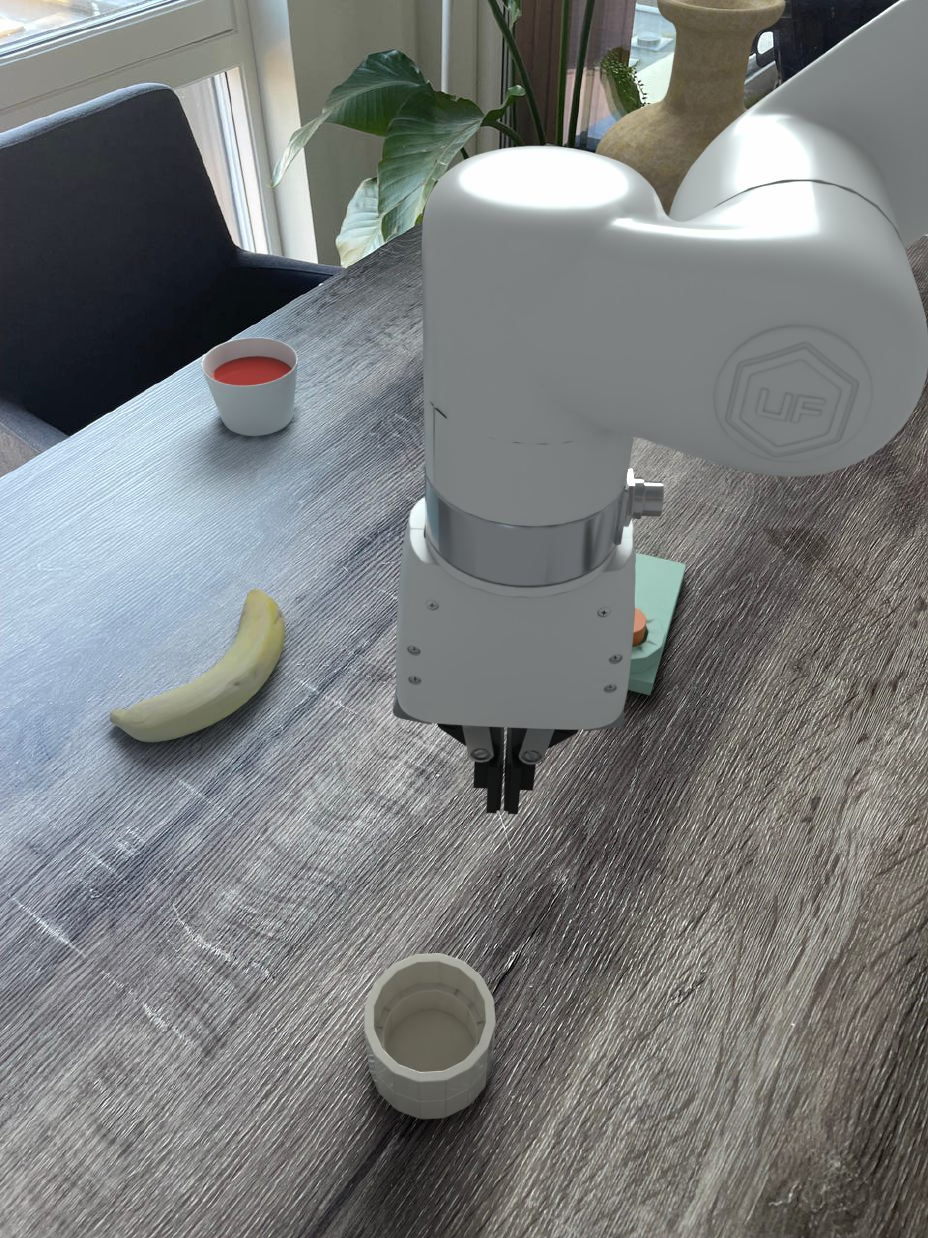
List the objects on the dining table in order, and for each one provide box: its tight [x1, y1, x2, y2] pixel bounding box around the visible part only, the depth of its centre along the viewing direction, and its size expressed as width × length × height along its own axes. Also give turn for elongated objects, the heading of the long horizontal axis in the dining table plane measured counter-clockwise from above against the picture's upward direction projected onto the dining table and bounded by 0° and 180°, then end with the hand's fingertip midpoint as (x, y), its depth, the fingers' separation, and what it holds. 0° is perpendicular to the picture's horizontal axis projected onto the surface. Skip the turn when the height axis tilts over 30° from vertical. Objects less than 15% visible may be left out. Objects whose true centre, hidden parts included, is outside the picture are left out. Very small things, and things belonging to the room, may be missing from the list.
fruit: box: [109, 588, 286, 743], centre depth 72 cm, size 7×15×3 cm, turn 145°
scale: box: [627, 552, 687, 696], centre depth 79 cm, size 16×14×3 cm
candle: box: [200, 336, 299, 437], centre depth 97 cm, size 9×9×6 cm
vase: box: [594, 0, 786, 217], centre depth 112 cm, size 22×22×30 cm
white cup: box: [363, 952, 497, 1120], centre depth 52 cm, size 7×7×6 cm
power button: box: [632, 608, 647, 647], centre depth 74 cm, size 3×3×2 cm
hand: (502, 790), depth 51 cm, fingers closed
